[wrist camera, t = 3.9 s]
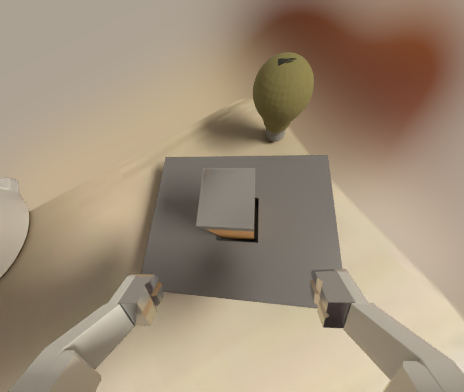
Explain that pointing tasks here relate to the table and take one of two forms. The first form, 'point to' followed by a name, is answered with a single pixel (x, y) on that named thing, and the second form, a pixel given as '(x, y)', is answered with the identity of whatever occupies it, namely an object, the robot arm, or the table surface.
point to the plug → (228, 202)
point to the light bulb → (282, 92)
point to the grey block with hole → (265, 232)
